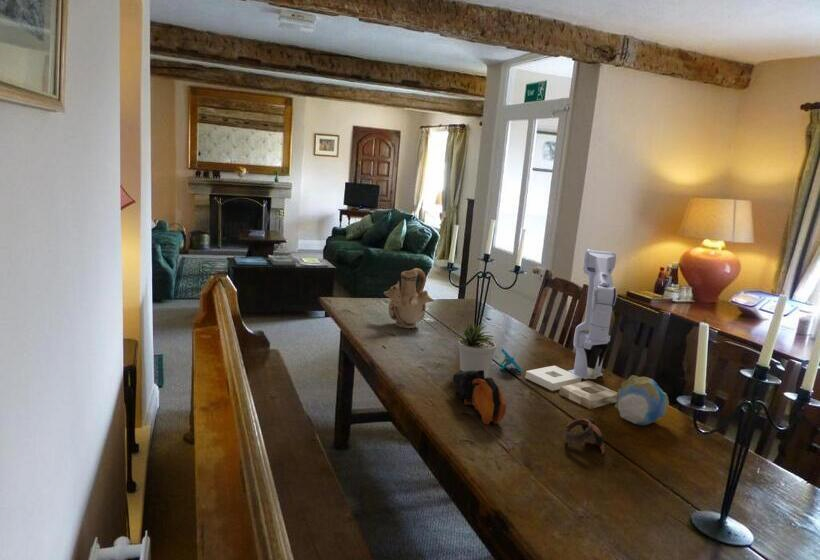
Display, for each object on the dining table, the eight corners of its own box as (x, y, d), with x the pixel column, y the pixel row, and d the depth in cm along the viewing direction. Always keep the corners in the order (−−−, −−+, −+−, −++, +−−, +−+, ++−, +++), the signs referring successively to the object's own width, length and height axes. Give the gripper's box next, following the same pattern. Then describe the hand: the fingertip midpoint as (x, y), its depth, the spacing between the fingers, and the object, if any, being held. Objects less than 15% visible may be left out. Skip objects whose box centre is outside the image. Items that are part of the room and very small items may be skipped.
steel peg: (589, 374, 177) (592, 347, 176) (598, 377, 175) (601, 349, 174) (584, 376, 175) (588, 349, 174) (593, 379, 173) (597, 351, 172)
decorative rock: (635, 376, 153) (680, 377, 157) (600, 373, 168) (642, 374, 172) (636, 428, 151) (682, 428, 155) (601, 420, 166) (643, 419, 170)
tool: (474, 419, 171) (471, 370, 174) (511, 424, 150) (507, 367, 152) (449, 421, 168) (447, 371, 171) (485, 426, 147) (481, 368, 150)
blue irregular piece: (525, 371, 191) (507, 350, 190) (512, 383, 191) (493, 361, 190) (518, 365, 202) (501, 344, 201) (506, 375, 202) (488, 355, 201)
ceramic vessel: (381, 319, 247) (385, 264, 242) (422, 320, 252) (427, 265, 247) (388, 332, 230) (393, 272, 225) (433, 332, 234) (438, 274, 229)
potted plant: (454, 366, 195) (459, 311, 191) (493, 372, 193) (500, 316, 189) (449, 379, 183) (454, 320, 179) (491, 385, 180) (498, 325, 177)
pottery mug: (605, 462, 138) (593, 435, 136) (569, 466, 142) (556, 440, 141) (610, 432, 147) (599, 406, 146) (576, 437, 152) (564, 412, 151)
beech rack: (587, 387, 185) (588, 380, 185) (618, 401, 176) (620, 393, 175) (559, 394, 177) (560, 386, 177) (590, 409, 168) (591, 401, 167)
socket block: (553, 372, 197) (554, 365, 197) (580, 384, 188) (581, 377, 187) (525, 377, 190) (526, 371, 189) (552, 390, 180) (553, 383, 179)
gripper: (597, 318, 180) (591, 358, 182) (576, 325, 169) (570, 367, 172) (619, 323, 175) (612, 364, 178) (598, 331, 165) (592, 374, 167)
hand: (593, 366), depth 174 cm, fingers closed on steel peg, 3 cm apart
